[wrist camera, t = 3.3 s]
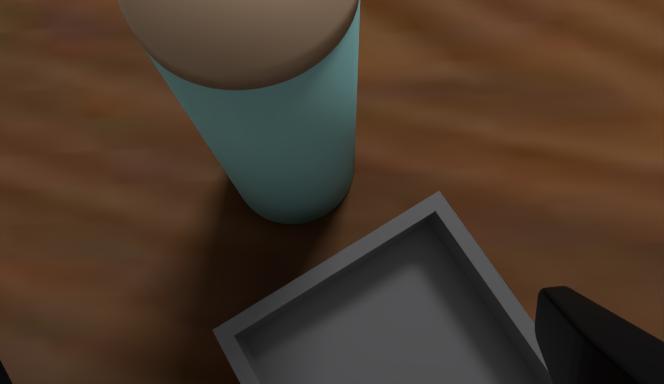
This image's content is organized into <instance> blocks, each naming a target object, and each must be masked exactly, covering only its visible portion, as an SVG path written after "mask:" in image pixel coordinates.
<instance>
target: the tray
mask: <svg viewBox="0 0 664 384" xmlns="http://www.w3.org/2000/svg"><path fill="white" fill-rule="evenodd" d="M212 331H213V333H214V335H215V336H216V338H217V340H218V342H219V344H220V346H221V348H222V350H223V352H224V354H225V355H226V357H227V359H228V361H229V363H230V365H231V367H232V369H233V371H234V373H235V375H236V376H237V378H238V380H239V382H240V384H553V383H552V380H551V378H550V375H549V372H548V370H547V367H546V364H545V362H544V359H543V356H542V353H541V351H540V348H539V345H538V343H537V340H536V336H535V324H534V323H533V321H532V320H531V319H530V317H529V316H528V314H527V313H526V312H525V310H524V309H523V307H522V306H521V305H520V303H519V302H518V300H517V299H516V298H515V296H514V295H513V293H512V292H511V291H510V289H509V288H508V286H507V285H506V284H505V282H504V281H503V279H502V278H501V277H500V275H499V274H498V272H497V271H496V270H495V268H494V267H493V265H492V264H491V263H490V261H489V260H488V258H487V257H486V256H485V254H484V253H483V251H482V250H481V249H480V247H479V246H478V244H477V243H476V242H475V240H474V239H473V237H472V236H471V235H470V233H469V232H468V230H467V229H466V228H465V226H464V225H463V223H462V222H461V221H460V219H459V218H458V216H457V215H456V213H455V212H454V211H453V209H452V208H451V206H450V205H449V204H448V202H447V201H446V199H445V198H444V197H443V195H442V194H441V192H440V191H438V192H436V193H435V194H433V195H431V196H430V197H428V198H427V199H425V200H423V201H422V202H420V203H418V204H417V205H415V206H414V207H412V208H410V209H409V210H407V211H405V212H404V213H402V214H401V215H399V216H397V217H396V218H394V219H392V220H391V221H389V222H388V223H386V224H384V225H383V226H381V227H379V228H378V229H376V230H374V231H373V232H371V233H370V234H368V235H366V236H365V237H363V238H361V239H360V240H358V241H357V242H355V243H353V244H352V245H350V246H348V247H347V248H345V249H344V250H342V251H340V252H339V253H337V254H335V255H334V256H332V257H331V258H329V259H327V260H326V261H324V262H322V263H321V264H319V265H317V266H316V267H314V268H313V269H311V270H309V271H308V272H306V273H304V274H303V275H301V276H300V277H298V278H296V279H295V280H293V281H291V282H290V283H288V284H287V285H285V286H283V287H282V288H280V289H278V290H277V291H275V292H273V293H272V294H270V295H269V296H267V297H265V298H264V299H262V300H260V301H259V302H257V303H256V304H254V305H252V306H251V307H249V308H247V309H246V310H244V311H243V312H241V313H239V314H238V315H236V316H234V317H233V318H231V319H230V320H228V321H226V322H225V323H223V324H221V325H220V326H218V327H216V328H215V329H213V330H212Z"/></svg>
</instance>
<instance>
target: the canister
mask: <svg viewBox="0 0 664 384" xmlns="http://www.w3.org/2000/svg"><path fill="white" fill-rule="evenodd" d="M117 1H118V5H119V8H120V10H121V12H122V14H123V16H124V18H125V20H126V21H127V23H128V24H129V26H130V28H131V29H132V31H133V32H134V34H135V35H136V37H137V38H138V40H139V41H140V43H141V44H142V46H143V47H144V49H145V50H146V52H147V53H148V55H149V57H150V58H151V60H152V61H153V63H154V64H155V66H156V67H157V69H158V70H159V72H160V73H161V75H162V76H163V78H164V79H165V81H166V82H167V84H168V85H169V87H170V89H171V90H172V92H173V93H174V95H175V96H176V98H177V99H178V101H179V102H180V104H181V105H182V107H183V108H184V110H185V111H186V113H187V114H188V116H189V117H190V119H191V121H192V122H193V124H194V125H195V127H196V128H197V130H198V131H199V133H200V134H201V136H202V137H203V139H204V140H205V142H206V143H207V145H208V146H209V148H210V149H211V151H212V153H213V154H214V156H215V157H216V159H217V160H218V162H219V163H220V165H221V166H222V168H223V169H224V171H225V172H226V174H227V175H228V177H229V178H230V180H231V181H232V183H233V185H234V186H235V188H236V189H237V191H238V192H239V194H240V195H241V197H242V198H243V200H244V201H245V203H246V204H247V205H248V206H249V207H250V208H251V209H252V210H253V211H255V212H256V213H257V214H259V215H260V216H262V217H264V218H266V219H268V220H270V221H274V222H277V223H282V224H303V223H308V222H311V221H314V220H317V219H319V218H321V217H323V216H325V215H327V214H328V213H329V212H331V211H332V210H333V209H334V208H336V207H337V206H338V205H339V204H340V202H341V201H342V200H343V199H344V197H345V196H346V194H347V192H348V190H349V188H350V186H351V183H352V180H353V175H354V161H355V132H356V103H357V75H358V46H359V17H360V0H117Z"/></svg>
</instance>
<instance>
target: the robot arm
mask: <svg viewBox="0 0 664 384" xmlns="http://www.w3.org/2000/svg"><path fill="white" fill-rule="evenodd" d="M535 336H536V340H537V343H538V345H539V348H540V351H541V353H542V356H543V359H544V362H545V364H546V367H547V370H548V372H549V375H550V378H551V380H552V383H553V384H664V342H663V341H661V340H660V339H658V338H656V337H654V336H653V335H651V334H649V333H647V332H646V331H644V330H642V329H640V328H639V327H637V326H635V325H633V324H632V323H630V322H628V321H626V320H625V319H623V318H621V317H619V316H618V315H616V314H614V313H613V312H611V311H609V310H607V309H606V308H604V307H602V306H600V305H599V304H597V303H595V302H593V301H592V300H590V299H588V298H586V297H585V296H583V295H581V294H579V293H578V292H576V291H574V290H572V289H571V288H569V287H566V286H557V287H547V288H543V289H541V290H540V291H539V294H538V299H537V308H536V318H535ZM0 384H12V382H11V380H10V378H9V376H8V374H7V372H6V370H5V368H4V366H3V364H2V363H1V361H0Z"/></svg>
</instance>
